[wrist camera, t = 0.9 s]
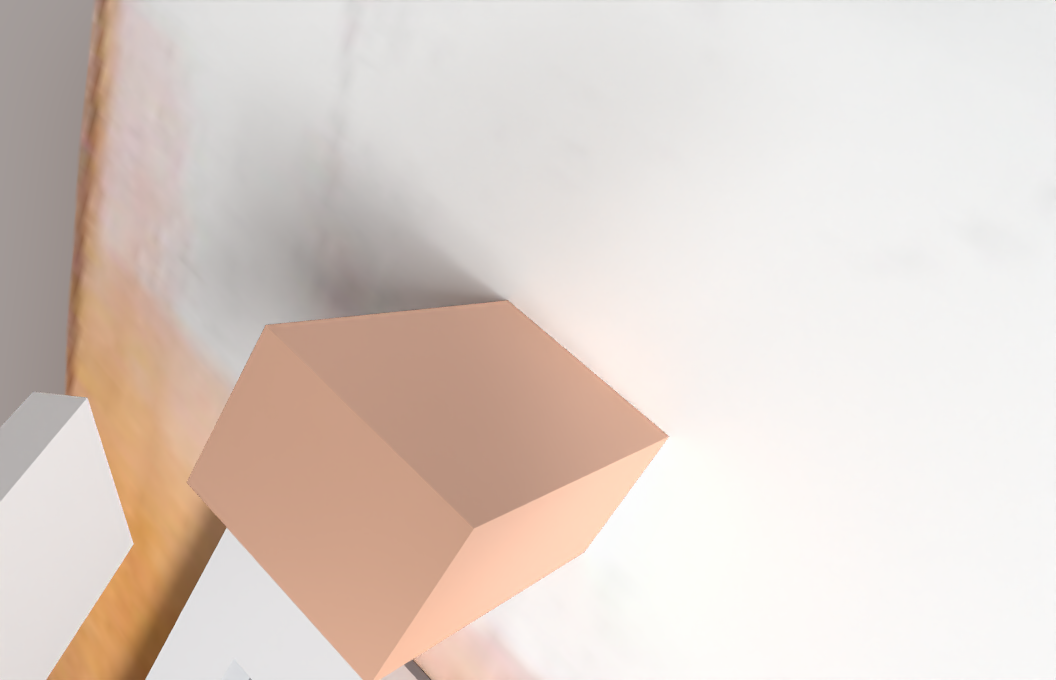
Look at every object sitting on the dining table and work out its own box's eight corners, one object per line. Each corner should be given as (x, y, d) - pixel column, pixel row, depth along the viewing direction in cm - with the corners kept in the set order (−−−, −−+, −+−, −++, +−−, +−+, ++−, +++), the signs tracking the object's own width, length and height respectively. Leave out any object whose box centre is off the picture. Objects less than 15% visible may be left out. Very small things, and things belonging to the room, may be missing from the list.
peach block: (507, 300, 32) (265, 324, 23) (669, 436, 30) (474, 528, 20) (437, 414, 34) (186, 482, 24) (584, 552, 31) (368, 686, 22)
